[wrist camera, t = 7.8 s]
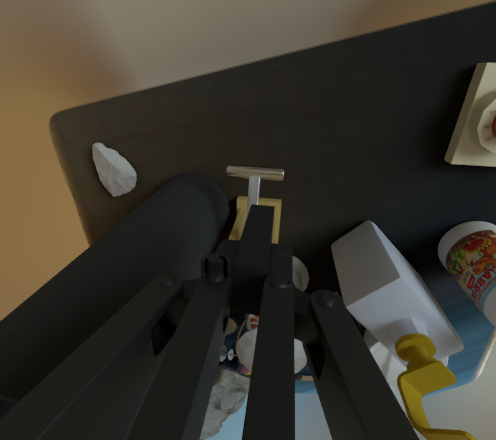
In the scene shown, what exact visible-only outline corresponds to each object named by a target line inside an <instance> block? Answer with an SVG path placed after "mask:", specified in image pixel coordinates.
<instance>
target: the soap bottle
mask: <svg viewBox="0 0 496 440" xmlns="http://www.w3.org/2000/svg"><path fill="white" fill-rule="evenodd" d="M331 250H332V254H333V258H334V263H335V267H336V271H337V276H338V280H339V284H340V288H341V293H342V297H343V301H344V304H345V306H346V308H347V309H348V311H349V312H350V313H351V314H352V315H353V316H354V317H355V318H356V319H357V320H358V321H359V322H360V323H361V324H362V325H363V326H364V327H365V328H366V329H367V330H368V331H369V332H370V333H371V334H372V335H373V336H374V337H375V338H376V339H377V340H378V341H379V342H380V343H381V344H382V345H383V346H384V347H386V348H387V349H388V350H389V351H390V352H391V353H392V354H393V355H394V356H395V357H396V358H397V359H398V360H399V361H400V362H401V363H402V364H403V365H404V366H405V367H406V368H407V370H406V371H404V372H402V373H401V374H399V376H398V378H397V386H398V389H399V392H400V395H401V397H402V400H403V403H404V406H405V409H406V412H407V415H408V418H409V421H410V423H411V424H412V426H413V427H414V428H415V429H416V430H418V432H419V433H420V434H422V435H423V436H424V437H425V438H426V439H427V440H476V439H475V438H474V437H473V436H472V435H471V434H469V433H467V432H464V431H461V430H446V429H431V428H430V425H429V423H428V421H427V418H426V415H425V413H424V410H423V408H422V404H421V399H422V396H423V395H425V394H427V393H430V392H433V391H436V390H439V389H441V388H444V387H447V386H450V385H453V384H455V383H456V381H457V379H456V377H455V375H454V374H453V373H452V372H451V371H450V370H449V369H448V368H447V367H446V366H445V365H444V364H443V363H442V362H441V361H439V360H440V359H442V358H445V357H447V356H450V355H452V354H455V353H457V352H460V351H462V350H463V349H464V346H463V343H462V340H461V338H460V337H459V335H458V333H457V332H456V330H455V329H454V327H453V326H452V324H451V323H450V321H449V320H448V318H447V317H446V315H445V313H444V312H443V310H442V309H441V307H440V306H439V304H438V303H437V301H436V300H435V298H434V297H433V295H432V293H431V292H430V290H429V289H428V287H427V286H426V284H425V283H424V281H423V280H422V278H421V277H420V275H419V274H418V273H417V271H416V270H415V269H414V268H413V267H412V266H411V265H410V264H409V262H408V261H407V260H406V259H405V258H404V257H403V256H402V254H401V253H400V252H399V251H398V250H397V249H396V248H395V246H394V245H393V244H392V243H391V242H390V241H389V240H388V238H387V237H386V236H385V235H384V234H383V233H382V232H381V230H380V229H379V228H378V227H377V226H376V225H375V224H374V223H372V222H371V221H370V220H368V221H365V222H364V223H362V224H361V225H359V226H358V227H356V228H355V229H353V230H352V231H350V232H349V233H347V234H346V235H344V236H343V237H341V238H340V239H338V240H337V241H335V242H334V243H333V244H332V245H331Z"/></svg>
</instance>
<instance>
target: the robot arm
mask: <svg viewBox="0 0 496 440" xmlns="http://www.w3.org/2000/svg"><path fill="white" fill-rule="evenodd" d="M274 211H275V206H266V205H255V204H251V207H250V210H249V213H248V216H247V219H246V223H245V226H244V229H243V232H242V235H241V238H240V240H230V239H225V240H223V241H222V242H221V243H219V246H218V248H217V250H216V253H211V254H207V255H205V256H203V257H202V258H201V276H200V277H199V278H196V279H191V280H183V278H182V277H181V275H179V274H177V273H173V272H168V273H163V274H160V275H158V276H157V277H155V278H154V279H153V280H152V281H151V282H150V283H148V284H147V285H146V286H145V287H144V288H143V289H142V290H141V291H140V292H139V293H137V294H136V295H135V296H134V297H133V298H132V299H131V300H130V301H129V302H128V303H126V304H125V305H124V306H123V307H122V308H121V309H120V310H119V311H118V312H117V313H116V314H114V315H113V316H112V317H111V318H110V319H109V320H108V321H107V322H106V323H105V324H103V325H102V326H101V327H100V328H99V329H98V330H97V331H96V332H95V333H94V334H92V335H91V336H90V337H89V338H88V339H87V340H86V341H85V342H84V343H83V344H81V345H80V346H79V347H78V348H77V349H76V350H75V351H74V352H73V353H72V354H71V355H69V356H68V357H67V358H66V359H65V360H64V361H63V362H62V363H61V364H60V365H58V366H57V367H56V368H55V369H54V370H53V371H52V372H51V373H50V374H49V375H47V376H46V377H45V378H44V379H43V380H42V381H41V382H40V383H39V384H38V385H36V386H35V387H34V388H33V389H32V390H31V391H30V392H29V393H28V394H27V395H26V396H24V397H23V398H22V399H21V400H20V401H19V402H18V403H17V404H16V405H15V406H13V407H12V408H11V409H10V410H9V411H8V412H7V413H6V414H5V415H4V416H2V417H1V418H0V440H102V438H103V437H104V436H105V434H106V433H107V432H108V430H109V429H110V428H111V427H112V425H113V424H114V423H115V421H116V420H117V419H118V417H119V416H120V415H121V413H122V412H123V411H124V409H125V408H126V407H127V405H128V404H129V403H130V401H131V400H132V399H133V397H134V396H135V395H136V393H137V392H138V391H139V389H140V388H141V387H142V385H143V384H144V383H145V381H146V380H147V379H148V377H149V376H150V375H151V373H152V372H153V371H154V369H155V368H156V367H157V365H158V364H159V363H160V361H161V360H162V359H163V360H162V362H161V365H160V367H159V369H158V371H157V373H156V376H155V378H154V380H153V382H152V384H151V387H150V389H149V391H148V393H147V395H146V398H145V400H144V402H143V404H142V406H141V409H140V411H139V413H138V415H137V418H136V420H135V422H134V424H133V426H132V429H131V431H130V433H129V435H128V437H127V440H200V436H201V432H202V428H203V424H204V420H205V416H206V412H207V408H208V404H209V400H210V396H211V392H212V388H213V384H214V380H215V376H216V372H217V368H218V364H219V360H220V356H221V352H222V348H223V344H224V340H225V336H226V332H227V329H228V325H229V317H230V309H231V312H236V313H243V314H251V315H259V321H258V328H257V335H256V343H255V350H254V357H253V364H252V371H251V378H250V385H249V392H248V400H247V407H246V414H245V421H244V428H243V435H242V440H295V363H294V339H297V340H299V341H301V342H302V344H303V348H304V352H305V355H306V358H307V361H308V364H309V367H310V370H311V374H312V377H313V380H314V383H315V386H316V389H317V393H318V396H319V398H320V402H321V405H322V408H323V411H324V415H325V418H326V421H327V424H328V427H329V430H330V434H331V436H332V440H419V438H418V437H417V435H416V433H415V431H414V429H413V427H412V426H411V424H410V422H409V420H408V418H407V417H406V415H405V413H404V411H403V409H402V408H401V406H400V404H399V402H398V400H397V398H396V397H395V395H394V393H393V391H392V389H391V388H390V386H389V384H388V382H387V380H386V379H385V377H384V375H383V373H382V371H381V370H380V368H379V366H378V364H377V362H376V361H375V359H374V357H373V355H372V353H371V352H370V350H369V348H368V346H367V344H366V343H365V341H364V339H363V337H362V335H361V333H360V332H359V330H358V328H357V326H356V324H355V323H354V321H353V319H352V317H351V315H350V314H349V312H348V310H347V308H346V306H345V305H344V303H343V301H342V299H341V298H340V297H339V296H338V295H337V294H335V293H334V292H331V291H328V290H316V291H314V292H313V293H312V294H308V293H305V292H303V291H301V290H300V289H298V288H297V287H296V286H295V285H294V283H293V250H292V249H291V248H290V246H289V245H284V244H275V243H272V233H273V222H274ZM163 357H164V358H163Z"/></svg>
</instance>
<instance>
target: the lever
mask: <svg viewBox="0 0 496 440" xmlns="http://www.w3.org/2000/svg"><path fill="white" fill-rule="evenodd" d="M227 177H235V178H249V189H248V202H247V215H246V219H247V216H248V213H249V210H250V207H251V204H255V205H258V203H259V191H260V179H264V180H278V181H283V180H284V168H275V167H260V166H244V165H228V166H227Z"/></svg>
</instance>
